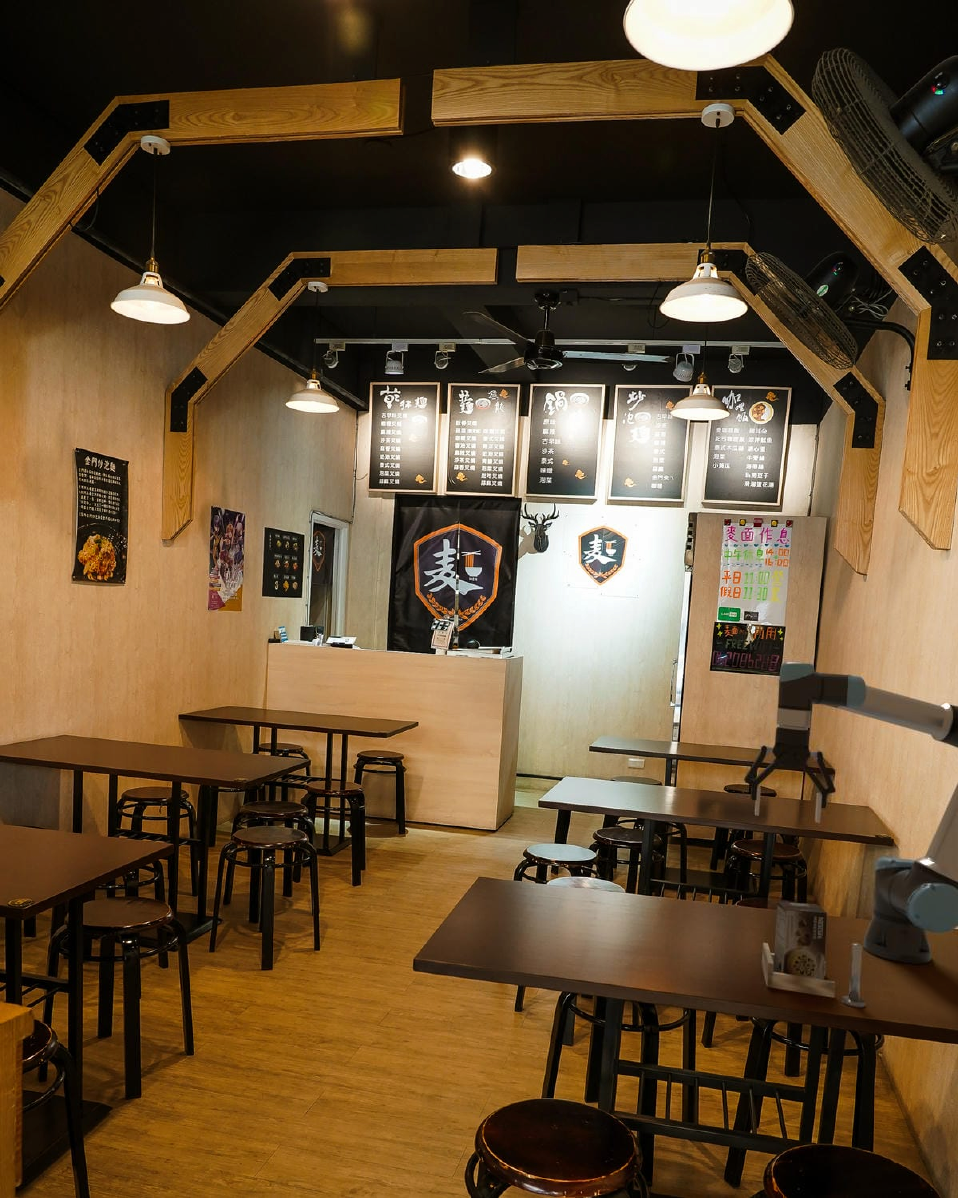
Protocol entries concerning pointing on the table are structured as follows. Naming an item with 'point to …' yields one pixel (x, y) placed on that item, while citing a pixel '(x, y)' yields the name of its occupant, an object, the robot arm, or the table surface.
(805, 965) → the coffee box
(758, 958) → the table surface
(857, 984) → the post
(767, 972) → the bay
